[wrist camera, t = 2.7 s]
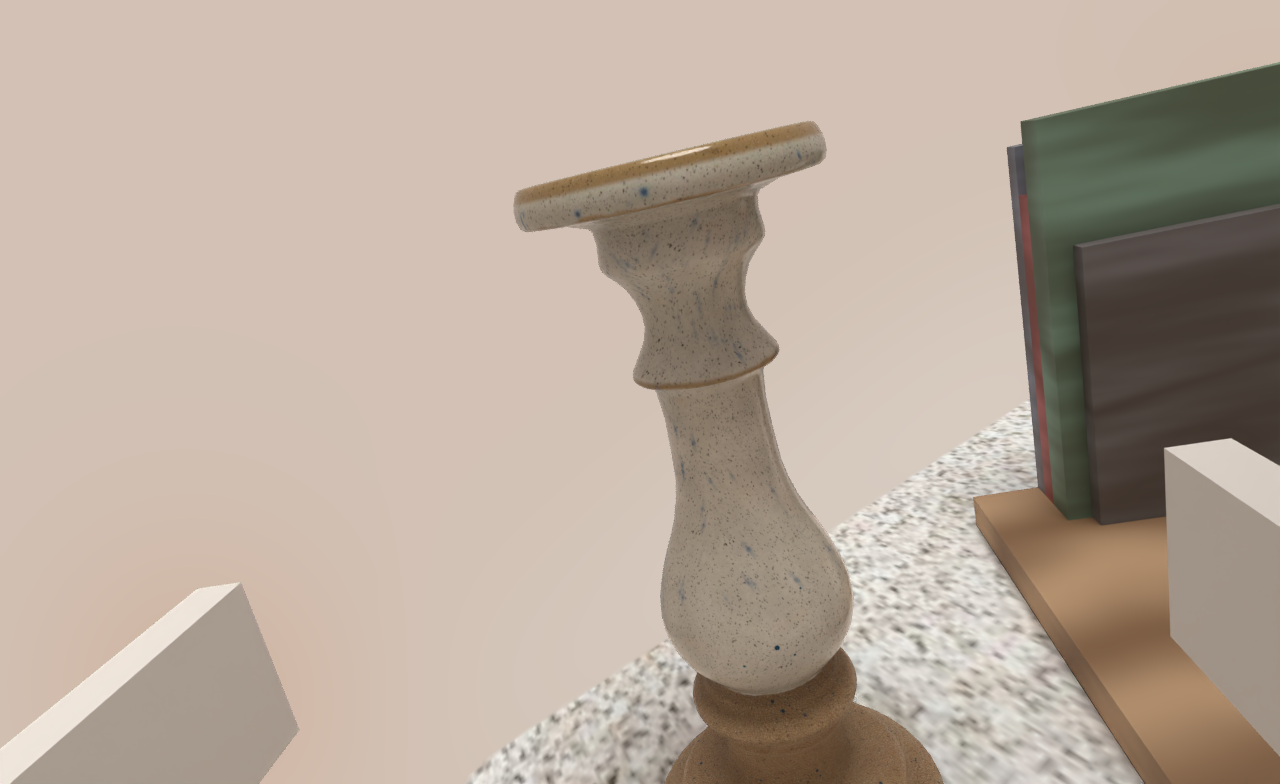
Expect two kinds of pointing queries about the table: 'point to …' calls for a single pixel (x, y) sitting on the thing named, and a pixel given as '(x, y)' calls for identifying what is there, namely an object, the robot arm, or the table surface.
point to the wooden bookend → (1142, 387)
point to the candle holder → (732, 471)
